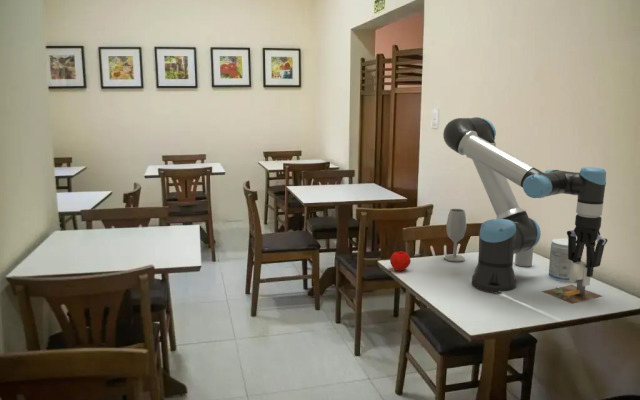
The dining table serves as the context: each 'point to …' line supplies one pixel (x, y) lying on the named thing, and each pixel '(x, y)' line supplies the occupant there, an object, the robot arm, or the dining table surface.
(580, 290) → the beige block on post
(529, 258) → the beverage can
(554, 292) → the base
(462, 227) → the wineglass
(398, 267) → the apple
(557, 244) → the supplement tub
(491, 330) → the dining table surface
